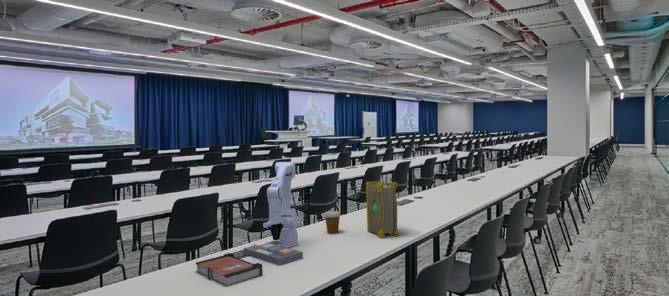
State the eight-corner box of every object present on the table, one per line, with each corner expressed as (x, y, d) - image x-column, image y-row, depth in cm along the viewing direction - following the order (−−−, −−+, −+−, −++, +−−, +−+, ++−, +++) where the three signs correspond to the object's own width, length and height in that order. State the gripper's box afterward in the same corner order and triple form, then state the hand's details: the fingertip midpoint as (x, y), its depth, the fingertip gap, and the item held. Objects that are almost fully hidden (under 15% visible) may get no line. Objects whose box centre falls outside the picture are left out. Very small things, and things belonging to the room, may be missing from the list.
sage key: (269, 248, 206) (269, 243, 206) (275, 249, 202) (275, 245, 202) (261, 250, 202) (261, 245, 202) (267, 251, 199) (267, 247, 199)
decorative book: (366, 231, 244) (364, 180, 243) (382, 229, 248) (381, 179, 247) (382, 239, 225) (380, 184, 224) (399, 236, 229) (398, 182, 228)
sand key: (261, 245, 210) (261, 241, 210) (267, 247, 207) (267, 243, 207) (253, 247, 207) (253, 243, 207) (259, 249, 203) (259, 245, 203)
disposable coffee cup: (327, 235, 237) (326, 214, 237) (323, 231, 246) (322, 211, 246) (342, 233, 240) (342, 213, 239) (338, 230, 249) (337, 210, 249)
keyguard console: (266, 247, 215) (266, 241, 215) (302, 258, 196) (302, 251, 195) (243, 254, 205) (243, 247, 205) (279, 265, 185) (279, 258, 185)
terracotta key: (286, 252, 197) (285, 248, 197) (292, 254, 193) (292, 250, 193) (278, 255, 193) (277, 250, 193) (284, 257, 190) (284, 252, 190)
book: (194, 273, 180) (193, 261, 180) (230, 263, 192) (229, 252, 192) (225, 288, 161) (224, 275, 161) (262, 276, 173) (262, 264, 173)
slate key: (277, 250, 201) (277, 246, 201) (283, 252, 198) (283, 247, 198) (269, 252, 198) (269, 248, 198) (275, 254, 194) (275, 250, 194)
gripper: (279, 208, 205) (280, 235, 206) (258, 213, 194) (259, 242, 194) (290, 209, 201) (291, 237, 202) (268, 214, 189) (269, 244, 190)
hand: (276, 239), depth 198 cm, fingers closed
